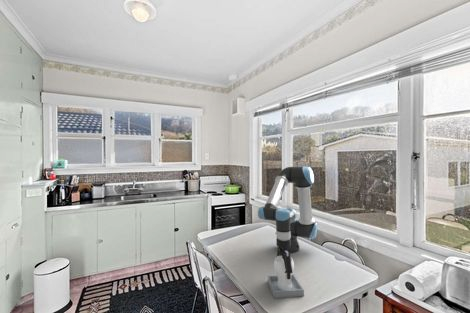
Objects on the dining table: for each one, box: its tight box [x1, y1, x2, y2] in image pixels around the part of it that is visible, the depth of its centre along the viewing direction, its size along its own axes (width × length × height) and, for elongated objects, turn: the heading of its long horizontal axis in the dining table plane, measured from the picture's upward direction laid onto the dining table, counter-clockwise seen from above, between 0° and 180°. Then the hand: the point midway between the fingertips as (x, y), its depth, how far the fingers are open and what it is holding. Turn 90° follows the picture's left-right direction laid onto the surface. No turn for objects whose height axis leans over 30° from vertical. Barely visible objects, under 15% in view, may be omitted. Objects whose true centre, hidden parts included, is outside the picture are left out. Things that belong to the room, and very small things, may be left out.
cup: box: [273, 255, 295, 290], centre depth 123 cm, size 11×11×15 cm
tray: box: [267, 273, 305, 299], centre depth 122 cm, size 15×15×3 cm
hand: (284, 277), depth 122 cm, fingers open, 13 cm apart
